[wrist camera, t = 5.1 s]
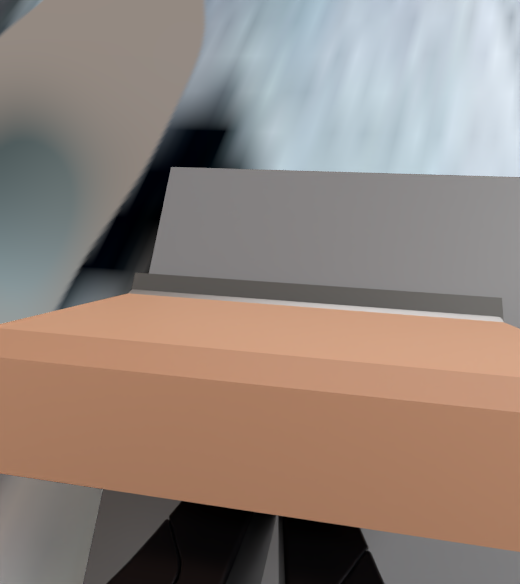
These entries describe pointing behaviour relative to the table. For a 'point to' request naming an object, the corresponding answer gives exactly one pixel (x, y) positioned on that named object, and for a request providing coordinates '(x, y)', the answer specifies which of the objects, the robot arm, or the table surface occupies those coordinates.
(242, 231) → the switch panel
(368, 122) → the table surface
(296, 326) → the tan flat block
